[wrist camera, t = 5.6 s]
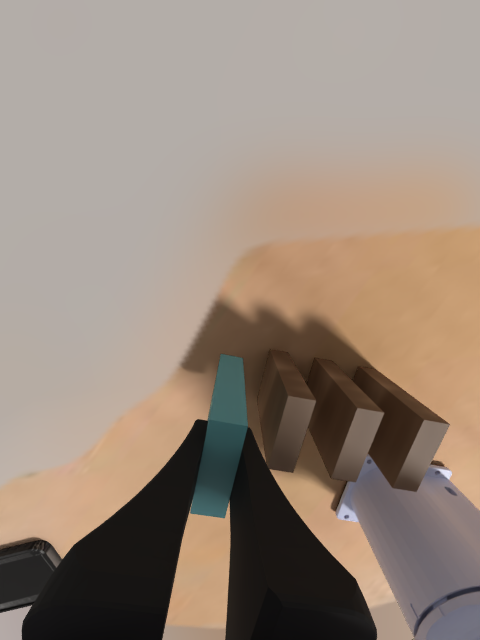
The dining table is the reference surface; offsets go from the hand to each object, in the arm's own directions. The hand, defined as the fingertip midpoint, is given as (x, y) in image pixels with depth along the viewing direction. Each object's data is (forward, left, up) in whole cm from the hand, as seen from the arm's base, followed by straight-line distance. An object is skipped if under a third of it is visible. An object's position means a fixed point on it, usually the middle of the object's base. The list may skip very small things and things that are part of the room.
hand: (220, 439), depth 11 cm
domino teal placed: (0, 0, -5) cm, 5 cm away
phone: (+20, +30, -9) cm, 37 cm away
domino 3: (-12, 0, -8) cm, 14 cm away
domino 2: (-8, 0, -8) cm, 11 cm away
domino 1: (-4, 0, -8) cm, 9 cm away
